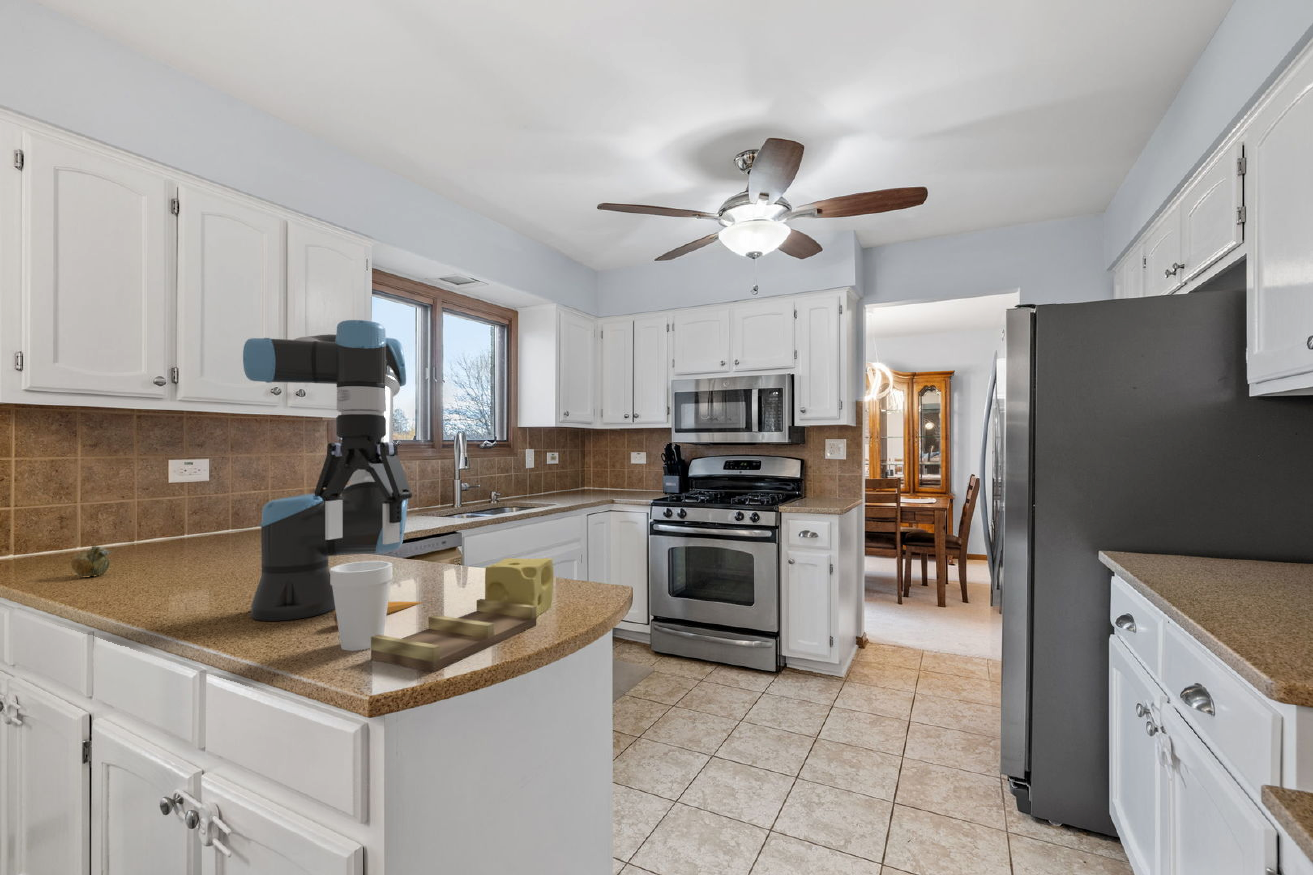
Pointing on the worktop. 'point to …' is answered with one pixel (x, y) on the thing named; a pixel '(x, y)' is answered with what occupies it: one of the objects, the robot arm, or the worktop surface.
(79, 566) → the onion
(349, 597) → the foam cup
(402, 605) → the carrot
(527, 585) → the cheese
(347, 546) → the robot arm
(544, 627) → the worktop surface
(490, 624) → the rack
